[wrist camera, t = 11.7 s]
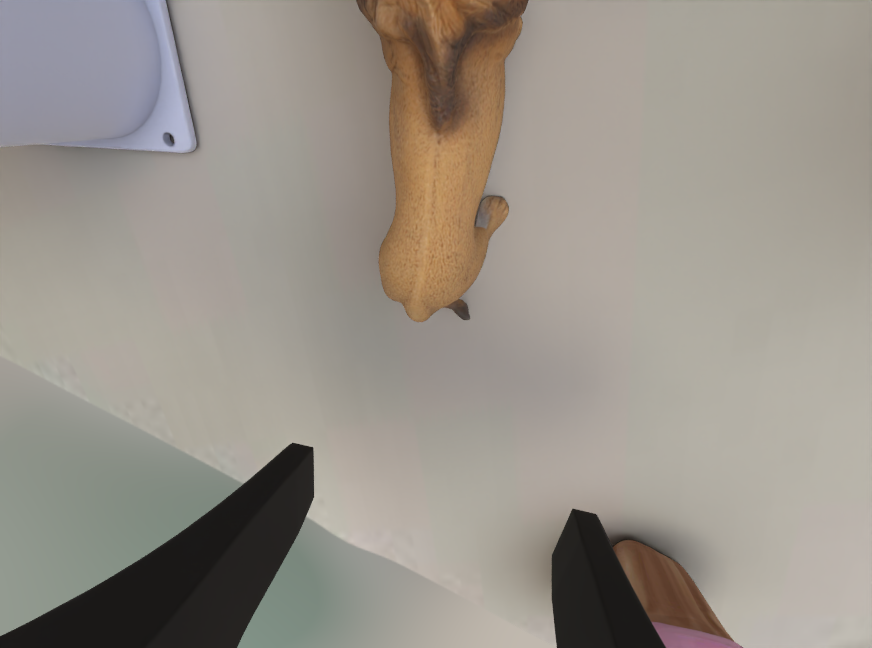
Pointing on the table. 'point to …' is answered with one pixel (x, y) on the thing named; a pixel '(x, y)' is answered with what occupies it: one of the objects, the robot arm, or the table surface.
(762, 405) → the table surface
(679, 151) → the table surface
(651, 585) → the cupcake
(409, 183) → the lion figurine
